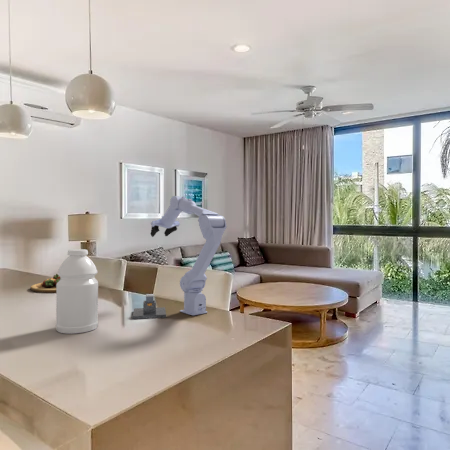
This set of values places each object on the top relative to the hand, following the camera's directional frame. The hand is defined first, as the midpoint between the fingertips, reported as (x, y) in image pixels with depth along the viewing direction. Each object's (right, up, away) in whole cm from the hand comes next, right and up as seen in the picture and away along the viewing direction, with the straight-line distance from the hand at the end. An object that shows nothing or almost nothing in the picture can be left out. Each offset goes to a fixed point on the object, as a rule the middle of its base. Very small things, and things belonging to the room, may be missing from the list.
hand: (158, 235), depth 177 cm
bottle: (-20, -32, -46) cm, 60 cm away
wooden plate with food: (-62, -32, +35) cm, 79 cm away
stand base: (+1, -32, -25) cm, 41 cm away
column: (+1, -31, -25) cm, 40 cm away
